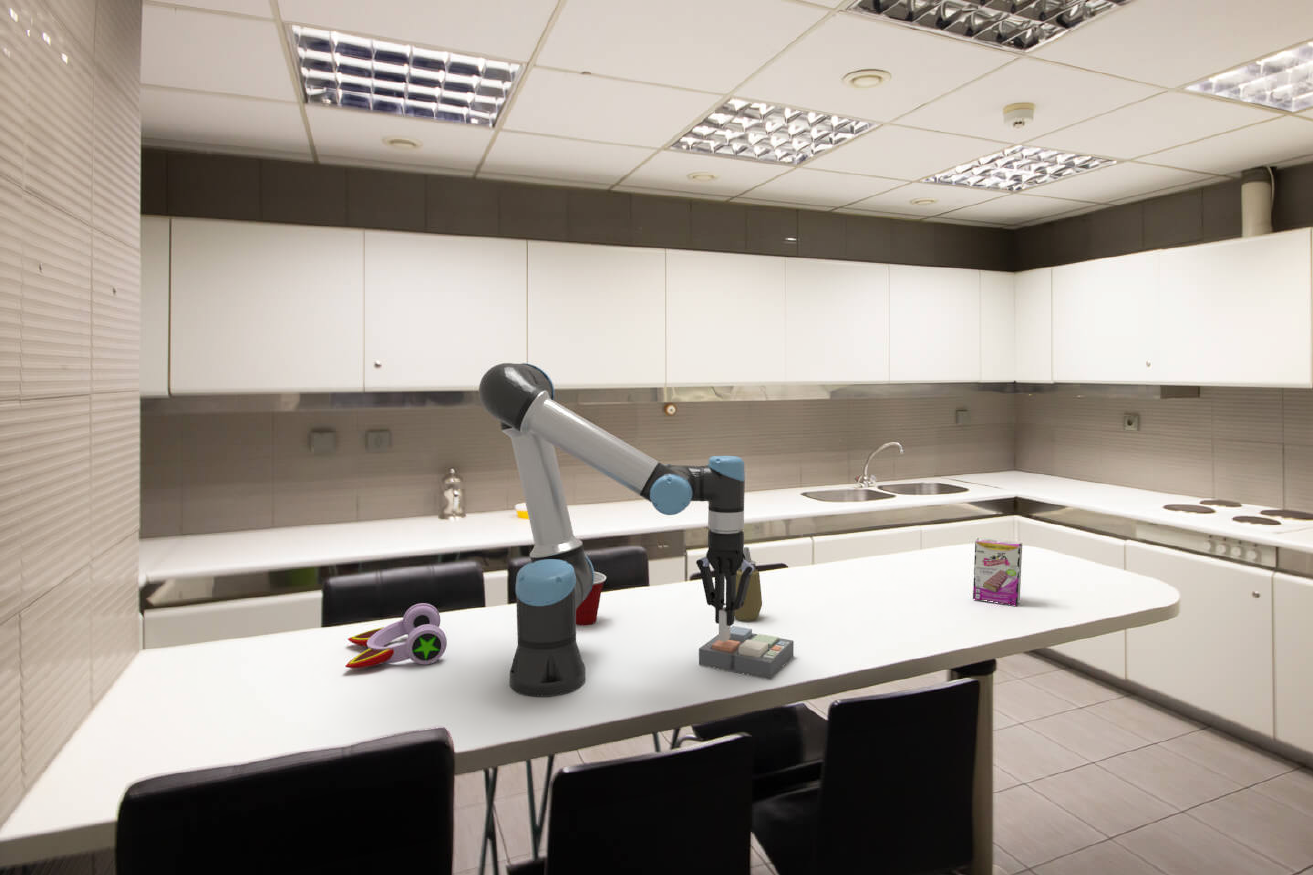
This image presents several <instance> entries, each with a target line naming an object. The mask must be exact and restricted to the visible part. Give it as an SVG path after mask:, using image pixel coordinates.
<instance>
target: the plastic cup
mask: <svg viewBox="0 0 1313 875" xmlns="http://www.w3.org/2000/svg"><path fill="white" fill-rule="evenodd" d="M606 579H607V576H606V575H605V574H603V573H601V572H597V571H594V582H593V586H592V589H591V591H590V593H589V594H588V596H587V597H586V599H585V600H584V601H583V602H582V603H581V604H580V605H579V607H578V608H577V609H576V626H584V627H585V626H591V625H594V624H595V623H596V622H597V619H598V611H599V607H600V600H601V595H602V590H603V586H604V584H605V581H606Z"/></svg>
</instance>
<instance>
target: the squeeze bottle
mask: <svg viewBox="0 0 1313 875" xmlns="http://www.w3.org/2000/svg"><path fill="white" fill-rule="evenodd" d="M743 553H744V555H745V560H746V561H747V562H748V563H749V564H750V565H752V564H753V565H755V567H756V565H757V563H756V561H754V560H752V557H751V553H750V548H749V547H747V546H744V548H743ZM742 574H743V572H742V566H741V567H740V568H739V569H738V571H737V576H736V595H737V591H738V587H739V583H740V579H741V576H742ZM762 607H763V597H762V588H761V577H760V571H759V570H758V569H756V568H755V570H754V571H753V573H752V574H751V577H750V581H749V585H748V589H747V593H746V597H745V600H744V604H743V606H742V607H741V608H739V609H738V610H735V614H734V619H736V620H739V621H743V622H744V621H747V622H748V621H755V620H757V619H758V618H759V616H760V612H761V609H762Z"/></svg>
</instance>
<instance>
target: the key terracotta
mask: <svg viewBox="0 0 1313 875" xmlns="http://www.w3.org/2000/svg"><path fill="white" fill-rule="evenodd" d="M739 646H740V642H739V641H734V640H727V641H725V642H724V641H719V640H718V641H716V642H715V643H714V644H712V649H715V650H721V651H726V652H731V653H733V652H734V651H735V650H737V649H738V648H739Z"/></svg>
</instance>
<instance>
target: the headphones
mask: <svg viewBox="0 0 1313 875" xmlns="http://www.w3.org/2000/svg"><path fill="white" fill-rule="evenodd" d="M440 615H441V614H440V612H439V610H438V609H437V608H436V607H435V606H434V605H432V604H430V603H425V602H423V603H422V602H421V603H416V604H414V605H412V606H410V607H409V608H408V609H407V610H406V612H405V613H404V615H403V616H402V619H400V620H398V621H395V622H393V623H390V624H388V625H387V626H383V627H378V628H377V627H376V628H373V629H371V630H367V631H364V632H362V633H359V634H356V635H353V636H350V637H349V638H347V640H348V641H349V642H350V643H352V644H354V645H357V646H361V647H366V648H368V649H365V650H364V651H362V652H361V653H359V654H357V655H356V656H355V657H353V658H352V659H351V660H350V661H348V662H347V663H346V664H345V668H350V669H364V668H369V667H370V668H371V667H374V666H377V665H380V664H383V663H385V664H394V663H400V662H403V661H406V660H411V661H412V662H414V663H416V664H418V663H419V665H430V664H429V663H431V664H433V663H435V662H437V661H438V660H439V659H441V657H442V656H443V655H444V654H445V651H446V649H447V645H448V644H447V643H448V641H447V640H448V639H447V636H446V634H445V632H444V630H443V629H442V628H440V626H441V616H440ZM405 635H407V637H406V640H405V642H403V643H399V644H394V645H391V646H386V645H387V644H389V643H390V642H392V641H394V640H396V639H398V638H400V637H401V638H402V637H403V636H405Z"/></svg>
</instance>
